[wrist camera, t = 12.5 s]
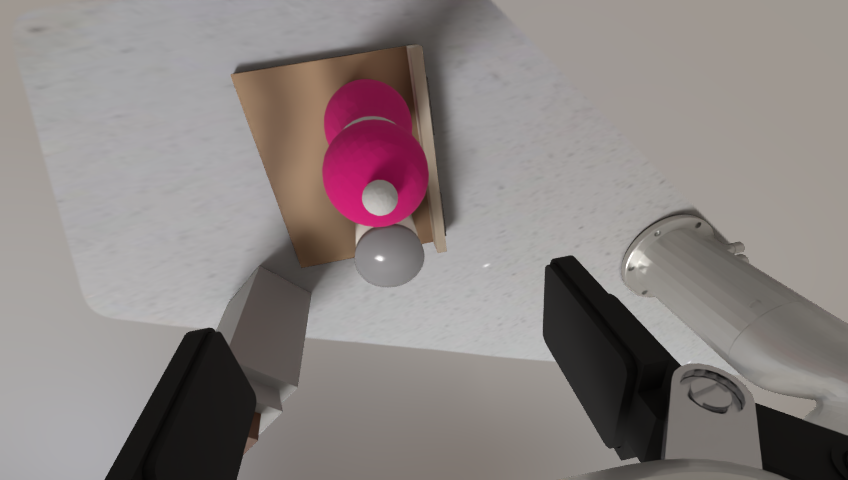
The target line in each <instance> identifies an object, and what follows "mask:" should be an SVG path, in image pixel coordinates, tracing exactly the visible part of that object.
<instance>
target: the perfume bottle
mask: <svg viewBox="0 0 848 480" xmlns="http://www.w3.org/2000/svg"><path fill="white" fill-rule="evenodd" d="M310 300H311V293H309V292H307V291H305V290H304V289H302V288H300V287H298V286H296V285H294V284H293V283H291V282H289V281H287V280H285V279H283V278H281V277H280V276H278V275H276V274H274V273H272V272H270V271H268V270H267V269H265V268H263V267H261V266H259V267H258V268H257V269H256V270H255V272H254V273H253V274H252V275H251V277H250V278H249V279H248V280H247V281H246V283H245V284H244V285H243V286H242V288H241V289H240V290H239V291H238V292H237V294H236V295H235V296H234V297H233V299H232V300H231V301H230V302H229V303H228V305H227V307H226V309H225V312H224V314H223V316H222V318H221V321H220V323H219V325H218V328H217V330H216V332H217V331H219V332H221V333H222V335H223V336H224V338H225V340H226V342H227V343H228V345H229V347H230V349H231V351H232V352H233V354H234V356H235V358H236V360H237V361H238V363H239V365H240V367H241V369H242V370H243V372H244V374H245V376H246V378H247V379H248V381H249V383H250V385H251V387H252V388H253V390H254V392H255V394H256V400H257V402H256V409H255V412H254V416H253V420H252V424H251V427H250V431H249V435H248V439H247V442H246V446H245V450H244V454H245V453H246V452H247V451H248V450H249V448H251V447H252V446H253V445H254V444H255V443H256V442H257V441H258V436H259V435H260V433H262V432H263V431H264V430H265V429H266V428H267V427H268V426H269V425H270V424H271V423H272V422H273V421H274V420H275V419H276V418H277V417H278V416H279V415H280V413H282V412H283V410H282V405H281V404H282V403H283V402H284V401H285V400H286V399H287V398H288V397H289V395H291V393H293V391H294V390H296V388H297V387H298V382H299V375H300V368H301V361H302V354H303V347H304V341H305V334H306V327H307V320H308V313H309V307H310ZM244 454H243V455H244Z"/></svg>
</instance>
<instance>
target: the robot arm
mask: <svg viewBox="0 0 848 480" xmlns="http://www.w3.org/2000/svg"><path fill="white" fill-rule="evenodd" d="M744 249H745V247H744V245H743V244H742V243H741V242H735V243H731V244H728V245H725V244H723V243H722V242H720V241H718V240H717V239H715V234H714V231H713V229H712V227H711V226H710V225H709V224H708V223H707V222H705V221H704V220H702V219H700V218H698V217H696V216H692V215H676V216H672V217H669V218H666V219H663V220H661V221H659V222H657V223H655V224H654V225H652V226H651V227H649V228H648V229H646V230H645V231H644V232H643V233H642V234H641V235H639V236H638V237H637V238H636V240H635V241H634V242H633V243H632V244H631V246H630V247H629V249H628V251H627V252H626V255H625V257H624V259H623V263H622V267H621V275H622V279H623V282H624V283H625V285H626V286H627V287H628V288H629V289H630V290H631V291H632V292H633V293H635V294H636V295H639V296H642V297H656V298H657V299H658V300H659V301H660V302H661V303H662V304H664V305H665V306H666V307H667V308H668V309H669V310H670V311H671V312H672V313H673V314H674V315H676V316H677V317H678V318H679V319H680V320H681V321H682V322H683V323H684V324H685V325H687V326H688V327H689V328H690V329H691V330H692V331H693V332H694V333H695V334H696V335H697V336H699V337H700V338H701V339H702V340H703V341H704V342H705V343H706V344H707V345H708V346H710V347H711V348H712V349H713V350H714V351H715V352H716V353H717V354H718V355H719V356H720V357H722V358H723V359H724V360H725V361H726V362H727V363H728V364H729V365H730V366H731V367H733V368H734V369H735V370H736V371H737V372H738V373H739V374H740V375H741V376H743V377H744V378H745V379H747V380H748V381H749V382H751V383H753V384H754V385H756V386H758V387H760V388H762V389H765V390H768V391H771V392H774V393H778V394H782V395H787V396H793V397H799V398H804V399H811V400H815V401H816V402H817V404H816V407H815V408H814V410H812V411H811V412H810V413H809V414H808V415H806V416H805V418H804V419H803V420H802V419H800V418H797V417H794V416H791V415H788V414H785V413H783V412H780V411H777V410H774V409H771V408H768V407H766V406H763V405H760V404H757V403H755V402H754V399H753V396H752V394H751V392H750V391H749V390H748V389H747V387H746V386H745V385H744V384H743V383H742V382H741V381H739V380H738V379H737V378H736V377H734V376H733V375H731V374H729V373H727V372H726V371H724V370H721V369H719V368H716V367H713V366H710V365H704V364H687V365H684V366H681V365H680V364H679V363H678V362H677V361H676V360H675V359H674V358H673V357H672V356H671V355H670V353H669V352H668V351H667V350H666V349H665V348H664V347H663V346H662V345H661V344H660V343H659V342H658V341H657V340H656V339H655V338H654V337H653V335H652V334H651V333H650V332H649V331H648V330H647V329H646V328H645V327H644V326H643V325H642V324H641V323H640V322H639V321H638V320H637V318H636V317H635V316H634V315H633V314H632V313H631V312H630V311H629V310H628V309H627V308H626V307H625V306H624V305H623V304H622V303H621V302H620V300H619V299H618V298H616V297H615V296H614V295H612V294H608V293H607V292H606V291H605V289H604V288H603V287H602V286H601V285H600V284H599V283H598V282H597V281H596V280H595V279H594V278H593V277H592V275H591V274H590V273H589V272H588V271H587V270H586V269H585V268H584V267H583V266H582V265H581V264H580V262H579V261H578V260H577V259H576V258H575V257H574V256H571V255H570V256H565V257H560V258H555V259H552V260H551V262H550V265H547V266H546V267H545V287H544V313H543V337H544V340H545V343H546V345H547V346H548V348H549V350H550V352H551V353H552V355H553V357H554V358H555V360H556V362H557V363H558V365H559V367H560V368H561V370H562V372H563V373H564V375H565V377H566V379H567V381H568V382H569V384H570V386H571V387H572V389H573V391H574V392H575V394H576V396H577V398H578V399H579V401H580V403H581V404H582V406H583V408H584V409H585V411H586V413H587V415H588V416H589V418H590V420H591V421H592V423H593V425H594V427H595V428H596V430H597V432H598V433H599V435H600V437H601V439H602V440H603V442H604V443H605V445H606V446H607V447H608V448H614V449H615V451H616V452H617V454H618V456H619V457H620V459H621V460H626V459H630V458H634V457H637V458H638V459H639V461H640V462H641V463H637V464H630V465H625V466H620V467H615V468H610V469H606V470H601V471H596V472H592V473H587V474H582V475H578V476H573V477H569V478H564V479H559V480H848V323H846V322H844V321H842V320H841V319H839V318H837V317H836V316H834V315H832V314H831V313H829V312H827V311H826V310H824V309H822V308H821V307H819V306H818V305H816V304H814V303H812V302H811V301H809V300H808V299H806V298H805V297H803V296H801V295H799V294H798V293H796V292H794V291H793V290H791V289H790V288H788V287H787V286H785V285H783V284H782V283H780V282H778V281H777V280H775V279H773V278H772V277H770V276H769V275H767V274H765V273H764V272H762V271H761V270H759V269H757V268H755V267H754V266H752V265H751V264H749V260H748V258H747V257H746V256H745V255H743V254H739V255H734V254H735V253H739V252H743V251H744ZM256 402H257V400H256V394H255V392H254V390H253V388H252V387H251V385H250V383H249V381H248V379H247V378H246V376H245V374H244V372H243V370H242V369H241V367H240V365H239V363H238V361H237V360H236V358H235V356H234V354H233V352H232V351H231V349H230V347H229V345H228V343H227V342H226V340H225V338H224V336H223V335H222V333H221V332H219V331H217V332H216V331H215V330H214V329H213V328H205V329H200V330H195V331H190V332H188V333H186V335H185V336H184V338H183V340H182V342H181V343H180V345H179V347H178V349H177V350H176V353H175V354H174V356H173V358H172V359H171V361H170V363H169V365H168V367H167V369H166V370H165V372H164V374H163V375H162V377H161V379H160V381H159V383H158V385H157V387H156V388H155V390H154V392H153V393H152V395H151V397H150V399H149V401H148V403H147V404H146V406H145V408H144V410H143V411H142V413H141V415H140V417H139V419H138V420H137V422H136V424H135V426H134V428H133V429H132V431H131V433H130V435H129V437H128V438H127V440H126V442H125V444H124V446H123V447H122V449H121V451H120V453H119V455H118V456H117V458H116V460H115V462H114V464H113V466H112V467H111V469H110V471H109V473H108V475H107V476H106V478H105V480H237V476H238V472H239V469H240V465H241V461H242V457H243V454H244V450H245V446H246V442H247V439H248V435H249V431H250V427H251V424H252V420H253V416H254V412H255V409H256Z"/></svg>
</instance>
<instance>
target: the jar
mask: <svg viewBox="0 0 848 480" xmlns="http://www.w3.org/2000/svg"><path fill="white" fill-rule="evenodd" d="M355 230H356V248H355V265H356V268H357V271H358V273H359V274H360V275H361V277H362V278H363V279H364V280H366V281H367V282H369V283H371V284H373V285H375V286H379V287H396V286H400V285H403V284H405V283H407V282H409V281H410V280H412V279H413V278H414V277H415V276H416V275H417V274H418V273H419V271H420V270H421V268H422V266H423V262H424V250H423V247H422V244H421V241H420V239H419V237H418V234H417V231H416V228H415V225H414V221H413V218H412V215H411V214H410V215H409V216H408V217H407V218H405V219H403V220H402V221H400V222H398V223H395V224H393V225H390V226H385V227H370V226H364V225H361V224H358V223H355Z"/></svg>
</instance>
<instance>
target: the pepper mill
mask: <svg viewBox="0 0 848 480" xmlns="http://www.w3.org/2000/svg"><path fill="white" fill-rule="evenodd" d="M324 131H325V136H326V139H327V142H328V144H329V147H328V149H327V151H326V153H325V155H324V161H323V167H322V177H323V184H324V188H325V191H326V194H327V196H328V197H329V199H330V201H331V203H332V204H333V205H334V207H335V208H336V209H337V210H338V211H339V212H340V213H341V214H342V215H344V216H345V217H346V218H347V219H349V220H351V221H353V222H355V223H358V224H361V225H364V226H370V227H385V226H390V225H393V224H395V223H398V222H400V221H402V220H403V219H405V218H407V217H408V216H409V215H410V214H412V213H413V212H414V211H415V210H416V208H417V207H418V206H419V205H420V203H421V202H422V200H423V198H424V196H425V193H426V190H427V186H428V182H429V170H428V163H427V159H426V156H425V153H424V151H423V149H422V147H421V145H420V143H419V142H418V141H417V140H416V139H415V137H414V136H413V135H412V120H411V115H410V111H409V108H408V106H407V104H406V102H405V101H404V99H403V98H402V96H401V95H400V94H399V93H398V92H397V91H396V90H395V89H393V88H392V87H391V86H389V85H387V84H385V83H383V82H380V81H377V80H372V79H360V80H355V81H352V82H349V83H347V84H346V85H344V86H342V87H341V88H340V89H338V90H337V91H336V92H335V93H334V95H333V96H332V97H331V99H330V100H329V102H328V104H327V107H326V110H325V115H324Z"/></svg>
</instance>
